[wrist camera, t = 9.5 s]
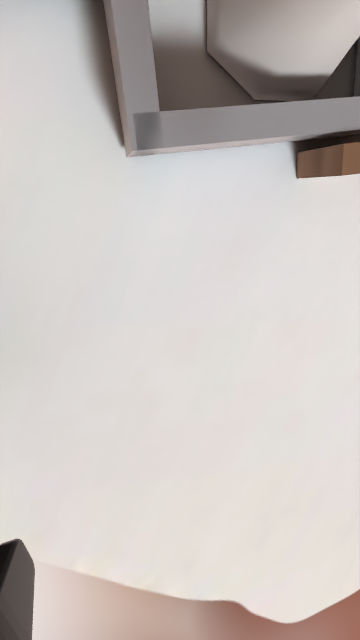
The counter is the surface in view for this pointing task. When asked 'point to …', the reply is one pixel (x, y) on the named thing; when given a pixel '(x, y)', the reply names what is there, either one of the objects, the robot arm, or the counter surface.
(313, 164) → the lane rails
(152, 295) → the counter surface
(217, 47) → the flask
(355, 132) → the sliding frame
